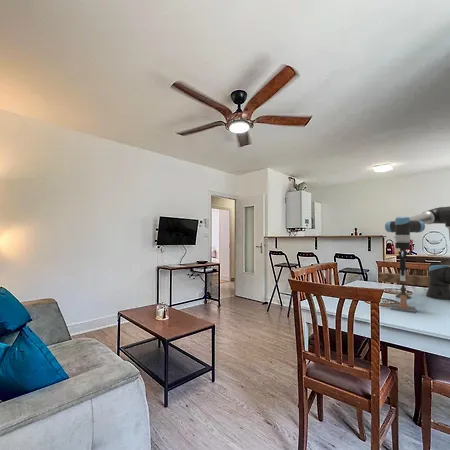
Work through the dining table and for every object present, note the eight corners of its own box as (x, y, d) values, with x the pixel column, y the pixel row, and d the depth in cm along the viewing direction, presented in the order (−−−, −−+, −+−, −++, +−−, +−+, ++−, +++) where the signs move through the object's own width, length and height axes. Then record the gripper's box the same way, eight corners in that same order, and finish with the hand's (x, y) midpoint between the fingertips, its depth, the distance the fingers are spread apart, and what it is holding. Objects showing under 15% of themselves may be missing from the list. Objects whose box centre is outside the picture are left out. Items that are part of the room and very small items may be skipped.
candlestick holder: (413, 299, 187) (413, 256, 188) (399, 298, 189) (398, 255, 190) (407, 296, 196) (406, 255, 197) (393, 295, 198) (393, 254, 199)
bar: (378, 281, 169) (378, 273, 169) (378, 280, 173) (378, 272, 173) (429, 286, 154) (429, 277, 154) (429, 284, 158) (429, 276, 158)
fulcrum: (392, 305, 171) (392, 292, 172) (415, 308, 164) (415, 295, 165) (391, 309, 162) (391, 296, 162) (415, 313, 155) (415, 299, 155)
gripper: (396, 241, 173) (396, 277, 173) (394, 242, 159) (394, 281, 158) (410, 241, 169) (410, 278, 169) (409, 242, 154) (410, 283, 154)
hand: (402, 280), depth 163 cm, fingers closed on bar, 5 cm apart
